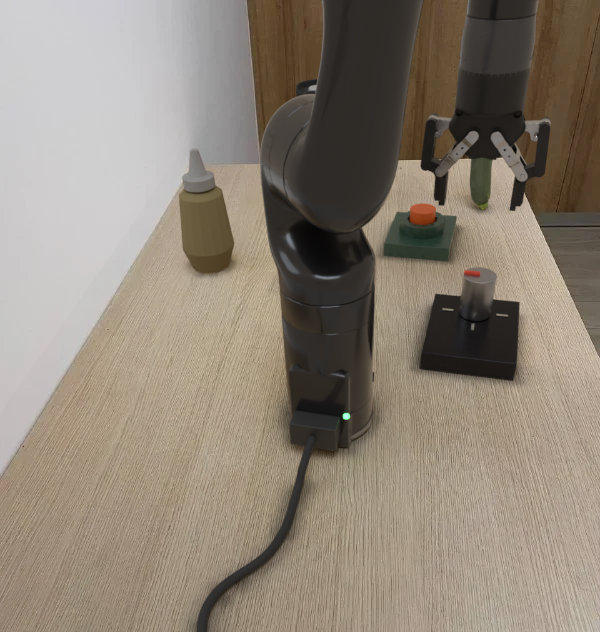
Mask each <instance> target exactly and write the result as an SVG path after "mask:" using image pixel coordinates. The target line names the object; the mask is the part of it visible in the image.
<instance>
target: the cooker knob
mask: <svg viewBox="0 0 600 632" xmlns="http://www.w3.org/2000/svg"><path fill="white" fill-rule="evenodd" d="M497 279H498V275H497V273H496V271H494V270H493V269H490V268H487V267H480V266H479V267H478V266H476V267H475V266H474V267H470V268H468V269H464V271H463V275H462V284H461V290H460V291H461V292H460V296H461V298H460V306H459V314H460V315H461V316H462V317H463V318H465V319H467V320H471V321H482V320H486V319H487V318H489V317H490V315H491V310H492V304H493V299H494V297H495V291H496V286H497V281H498V280H497Z"/></svg>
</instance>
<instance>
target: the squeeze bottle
mask: <svg viewBox="0 0 600 632" xmlns="http://www.w3.org/2000/svg"><path fill="white" fill-rule="evenodd" d="M199 150H200V149H198V148H190V150H189V159H188V160H189V163H188V172H186V173H184V174H183V175H182V176H181V180H182V186H183V188H182V190H181V192H179V193H178V202H179V204H178V205H179V216H180V230H181V243H182V251H183V253H184V255H185V256H186V258H187V260H188V261H189V263H190V265H191V266H192V269H194V270H195V271H196V272H197V273H201V274H214V273H219V272H222V271H224V270H226V269H227V268H228V267H229V266H230V264H231V261H232V256H233V251H234V247H235V241H234V236H233V231H232V226H231V223H230V218H229V214H228V210H227V205H226V202H225V196H224V193H223V189H222V188H220V187H219V186H218V185H216V180H215V179H216V178H215V174H214V172H212V171H211V170H207V169H206V167H205V164H204V162H203V158H202V156H201V153H200V151H199Z"/></svg>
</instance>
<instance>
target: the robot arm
mask: <svg viewBox="0 0 600 632" xmlns="http://www.w3.org/2000/svg"><path fill="white" fill-rule="evenodd" d="M539 1H540V0H467V1H466V14H465V19H464V25H463V29H462V35H461V42H460V52H459V63H458V72H457V81H456V82H457V84H456V95H455V103H454V105H455V106H454V112H453V115H452V117H443V116H439V114H438V113H436V112H431V114H429V115H428V118H427V120H426V121H425V126H424V134H423V143H422V151H421V158H420V169H421V170H422V171H424V172H431V173H432V174H433V175H434V187H433V199H434V201H435V202H437V203H438V204H437V205H438V206H439V207H440V206H441V207H444V206H445V205H446V202H447V193H448V183H449V172H450V169H451V168H452V167H453V166H454V165H456V164H457V162H458V161H459V160H460V159H461V158H462V157H463V156H466V157H468V159H469V160H471V159H478V158H486V159H489V160H493V161H496V160H497V159H499V158H502V159H503V160H504V162H505V164H506V165H507V167H508V168H509V169H511V171H512V173H513V175H514V178H513V186H512V190H511V191H512V192H511V197H510V199H511V200H510V203H509V210H508V211H509V212H516V209H517V207H521V206H522V205H523V203H524V198H525V193H526V185H527V182H528V181H529V180H530V179H532V178H533V179H534V178H542V177H543V176H545V173H546V169H547V168H546V167H547V158H548V152H549V143H550V135H551V126H552V125H551V123H552V121H551V118H550V117H548V116H543V117H542V118H540V119H534V120H526V117H525V113H524V112H525V106H526V100H527V93H528V86H529V81H530V76H531V75H530V74H531V68H532V61H533V58H534V55H535V43H536V29H537V27H536V26H537V25H536V24H537V12H538V8H539ZM424 2H425V0H321V5H322V23H323V26H322V27H323V28H322V29H323V30H322V45H321V56H320V63H319V68H318V75H317V79H318V80H317V86H316V92H315V94H305V95H301V96H297V97H296V96H295V97H293V98H291V99H289V100H287V101H286V102H285V103H283V104H281V106H279V107H278V108H277V109H276V111H275V112H274V113H273V114H272V116H271V117H270V119H269V120H268V123H267V125H266V127H265V129H264V131H263V135H262V139H261V142H260V144H261V145H260V152H259V172H260V184H261V193H262V202H263V209H264V218H265V225H266V232H267V240H268V247H269V251H270V253H271V257H272V259H273V261H274V262H273V263H274V264H275V267H276V271H277V277H278V286H279V301H280V310H281V311H280V312H281V326H282V340H283V353H284V364H285V378H286V390H287V392H286V393H287V400H288V414H287V415H288V422H289V423H288V425H289V427H288V428H289V437H290V444H291V445H295V446H302V447H304V449H303V451H302V454H301V458H300V461H299V464H298V468H297V471H296V476H295V481H294V485H293V488H292V492H291V495H290V499H289V501H288V506H287V510H286V513H285V515H284V518H283V521H282V523H281V526H280V528H279V529H278V531H277V533H276V535H275V536H274V538H273V539H272V541H271V542H270V543H269V545H268V546H267V547H266V548H265V550H263V551H262V552H261V553H260V554H259V555H258V556H257V557H255V558H254V559H253V560H251V561H249V562H248V563H247V564H245V565H244V566H242V567H240V568H239V569H237V570H235V571H234V572H232V573H231V574H230V575H228V576H227V577H225V578H224V579H223V580H222V581H220V582H219V583H218V584H217V585H216V586H214V588H213V589H212V590H211V591H210V592H209V594H208V595H207V596H206V598H205V600H204V601H203V603H202V605H201V607H200V610H199V612H198V616H197V622H196V632H208V622H209V617H210V614H211V611H212V608H213V607H214V605H215V603H216V602H217V601H218V599H219V598H220V597H221V595H223V593H224V592H226V590H228V589H229V588H230V587H231V586H233V585H234V584H236V583H237V582H239V581H241V580H242V579H243V578H245V577H247V576H248V575H250V574H251V573H252V572H255V570H257V569H258V568H260V567H261V566H263V564H265V563H266V562H267V561H268V560H270V558H272V556H273V555H275V553H276V552H277V551H278V550H279V548H280V547H281V545H282V544H283V542H284V540H285V539H286V537H287V535H288V533H289V531H290V529H291V527H292V524H293V521H294V519H295V515H296V511H297V508H298V504H299V501H300V497H301V493H302V490H303V486H304V484H305V483H304V482H305V479H306V473H307V471H308V465H309V462H310V459H311V457H312V454H313V451H314V448H315V449H319V450H326V451H333V452H336V451H337V449H338V447H339V448H340V447H341V448H344V449H345V448H346V449H347V448H349V447H350V445H351V443H352V441H354V440H356V439H358V438H360V437H361V436H362V435H364V434H365V433H366V432H367V431H368V430H369V429H370V427H371V425H372V422H373V417H374V415H373V412H374V411H373V383H375V372H374V345H375V343H374V342H375V311H376V288H377V287H376V286H377V283H376V282H377V281H376V280H377V259H376V255H375V252H374V249H373V247H372V245H371V243H370V241H369V240H368V238H367V235H366V234H365V231H364V229H363V227H365V226H367V225H368V224H369V223H370V222H371V221H372V220H373V219H374V218H375V217H376V216H377V215H378V214H379V212H380V211H381V209H382V208H383V206H384V205H385V203H386V201H387V199H388V197H389V195H390V193H391V190H392V188H393V185H394V182H395V179H396V175H397V171H398V165H399V161H400V154H401V147H402V139H403V132H404V123H405V116H406V108H407V101H408V100H407V99H408V92H409V84H410V77H411V70H412V64H413V59H414V51H415V46H416V40H417V36H418V32H419V31H418V30H419V25H420V21H421V17H422V13H423V7H424ZM445 130H449V132H450V135H451V136H452V138H453V140H454V141H455V142H454V143H453V144H452V146H450V148H449V150H448V151H447V152H446V153H445V154H444V155H443V157H442V158H441V159H439V158H437V157H435V152H436V144H437V139H438V138H441V137H442V136H443V134H444V131H445ZM525 132H526V133H528V134H529V136H530V137H529V139H530V141H532V142H534V143H536V149H535V159H534V162H531V163H530V162H529V163H527V162H526V160H525V159H524V157H523V155H522V153H521V150H520V149H519V147H518V145H517V144H516V143H517V142H518V141H519V140H520V138H521V137H522V136H523V135H524V134H525Z"/></svg>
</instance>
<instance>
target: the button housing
mask: <svg viewBox="0 0 600 632" xmlns="http://www.w3.org/2000/svg"><path fill="white" fill-rule="evenodd" d="M457 219H458V217H457V215H449V214H442V213H441V212H438V211H436V216H435V222H434V223H432V224H428V225H418V224H414V223H411V222H410V210H408V211H405V212H404V211H396V213H395V215H394V217H393V220H392V223H391V225H390V228H389V230H388V234H387V235H386V238H385V241H384V242H383V257H392V258H403V259H415V260H425V261H436V262H437V261H439V262H449V259H450V255H451V249H452V246H453V242H454V238H455V237H454V236H455V231H456V227H457Z"/></svg>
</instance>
